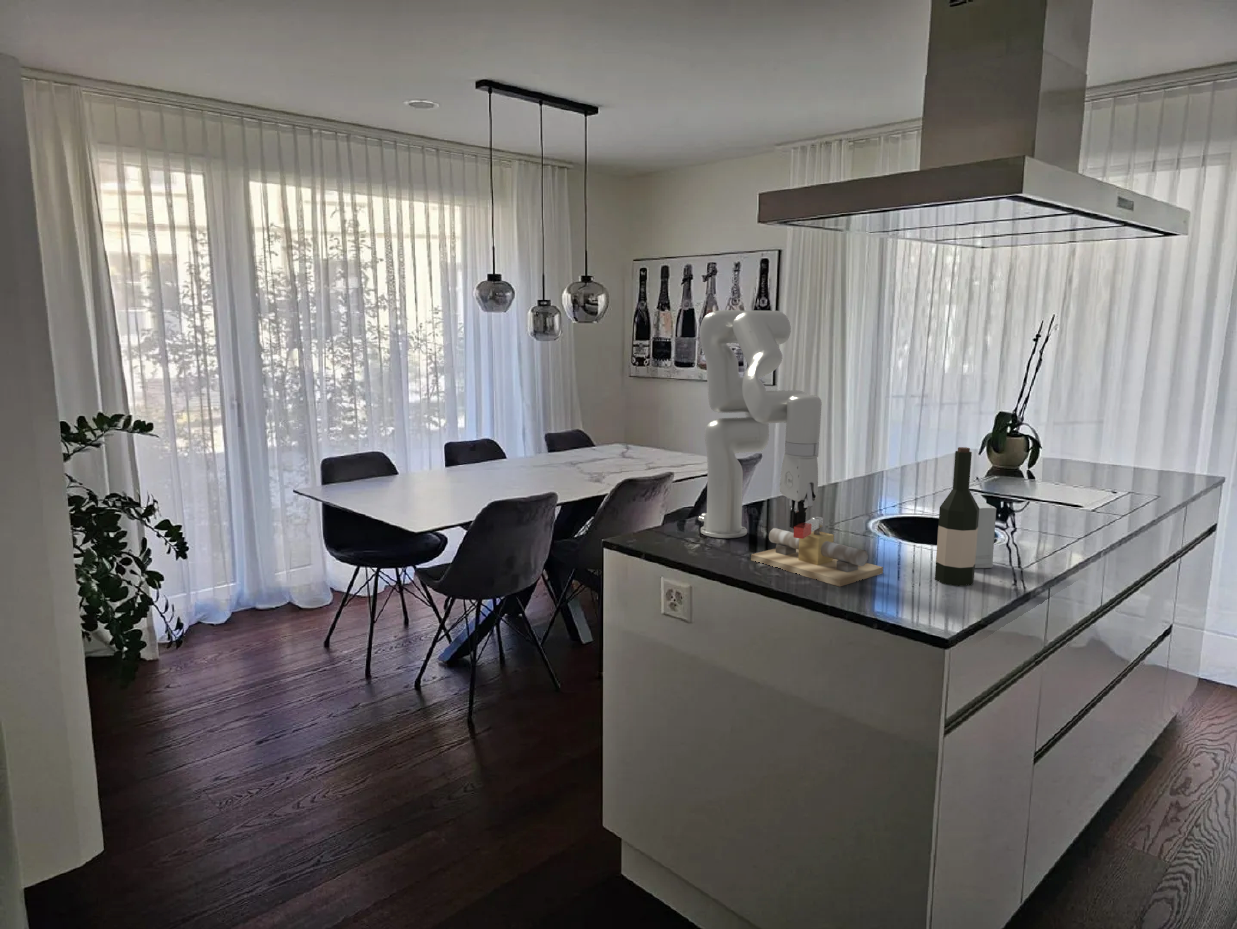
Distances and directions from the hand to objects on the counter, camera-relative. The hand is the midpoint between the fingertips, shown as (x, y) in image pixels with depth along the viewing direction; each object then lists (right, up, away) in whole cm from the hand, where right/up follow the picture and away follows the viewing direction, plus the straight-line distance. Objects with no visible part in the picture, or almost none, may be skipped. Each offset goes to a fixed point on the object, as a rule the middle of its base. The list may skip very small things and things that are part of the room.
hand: (797, 527), depth 191 cm
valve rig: (+5, -10, +5) cm, 12 cm away
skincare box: (+42, -10, +6) cm, 44 cm away
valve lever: (+2, -1, -1) cm, 3 cm away
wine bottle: (+34, -12, -6) cm, 36 cm away
